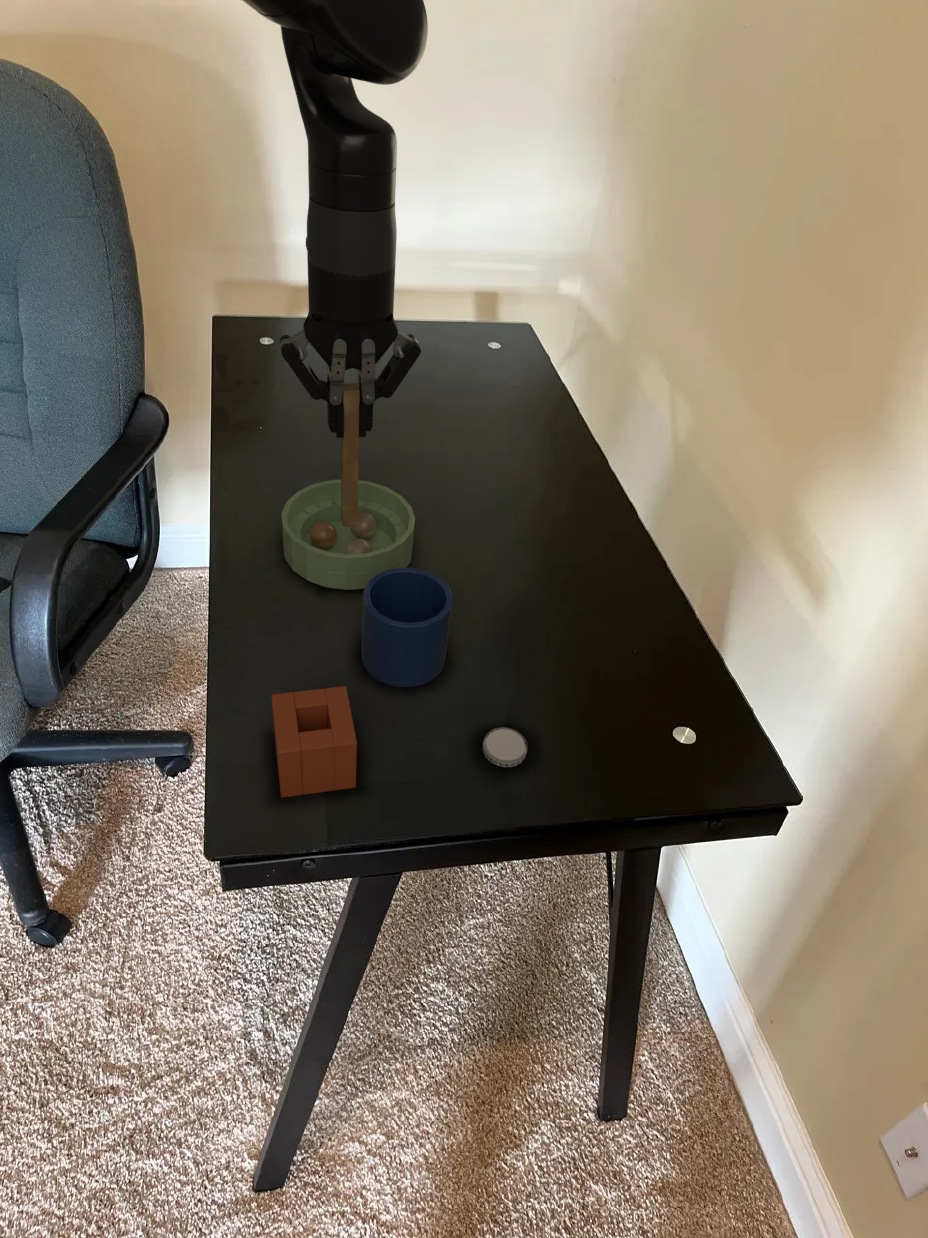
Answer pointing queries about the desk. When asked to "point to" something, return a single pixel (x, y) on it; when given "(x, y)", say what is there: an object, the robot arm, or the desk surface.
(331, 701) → the holder
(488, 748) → the grey bottle cap
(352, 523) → the stick
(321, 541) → the bead
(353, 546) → the bead
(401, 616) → the crock
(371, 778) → the desk surface
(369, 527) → the bead
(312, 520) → the bowl
